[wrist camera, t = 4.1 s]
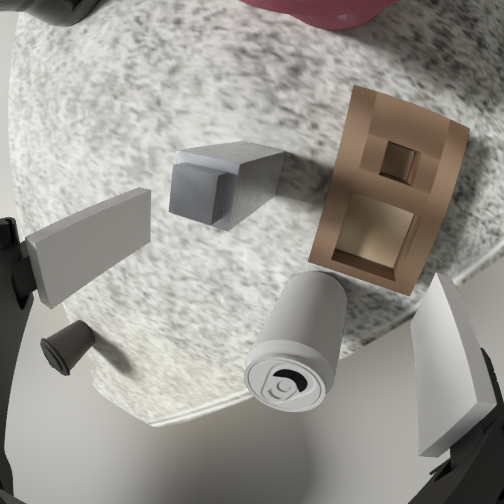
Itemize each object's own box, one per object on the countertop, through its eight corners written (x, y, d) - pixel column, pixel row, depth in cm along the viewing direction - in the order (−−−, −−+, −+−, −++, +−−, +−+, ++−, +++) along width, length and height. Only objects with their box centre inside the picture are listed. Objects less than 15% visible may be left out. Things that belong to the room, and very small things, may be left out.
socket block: (354, 91, 20) (353, 84, 17) (456, 128, 18) (470, 128, 15) (314, 246, 26) (307, 261, 23) (405, 277, 24) (409, 296, 21)
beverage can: (361, 293, 26) (351, 388, 16) (322, 333, 30) (294, 425, 19) (307, 254, 27) (267, 335, 16) (272, 300, 30) (223, 383, 20)
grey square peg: (242, 141, 25) (165, 152, 15) (285, 151, 24) (230, 167, 14) (234, 183, 27) (160, 218, 17) (275, 195, 26) (219, 238, 16)
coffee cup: (78, 339, 51) (46, 366, 42) (68, 307, 48) (31, 334, 39) (104, 355, 49) (71, 386, 40) (94, 323, 45) (56, 354, 37)
